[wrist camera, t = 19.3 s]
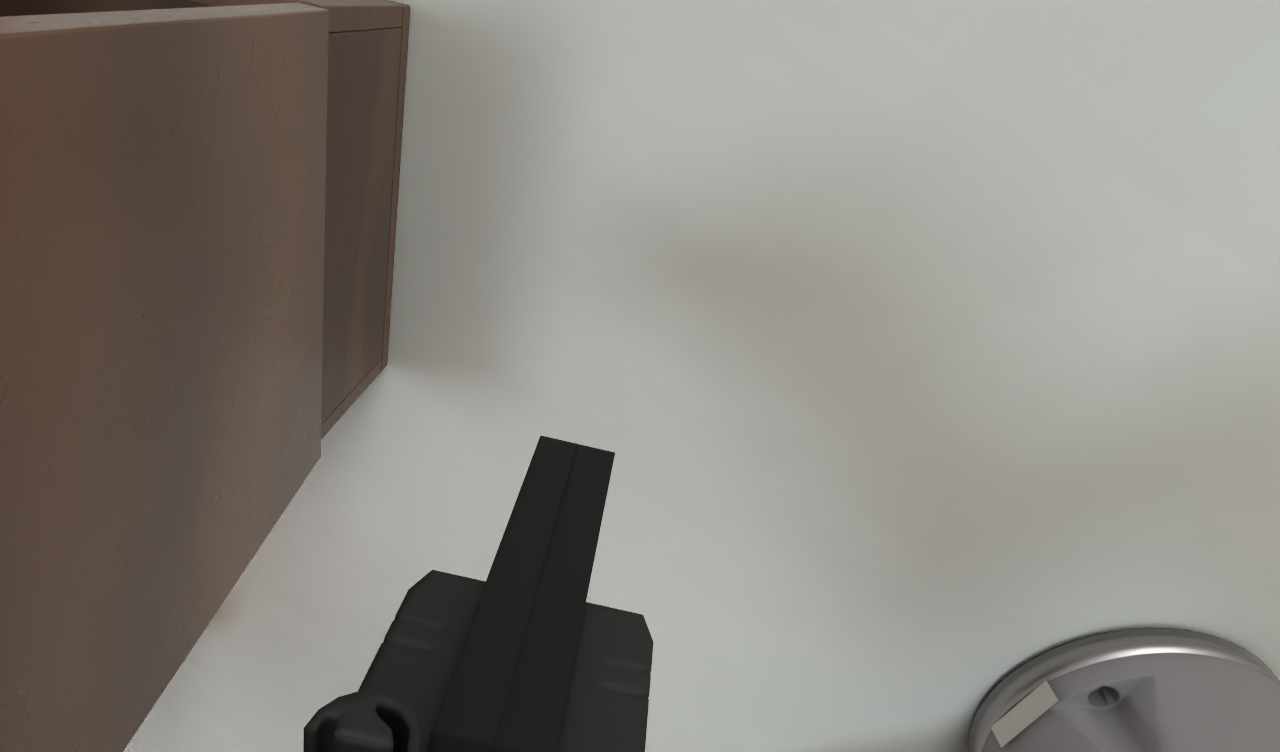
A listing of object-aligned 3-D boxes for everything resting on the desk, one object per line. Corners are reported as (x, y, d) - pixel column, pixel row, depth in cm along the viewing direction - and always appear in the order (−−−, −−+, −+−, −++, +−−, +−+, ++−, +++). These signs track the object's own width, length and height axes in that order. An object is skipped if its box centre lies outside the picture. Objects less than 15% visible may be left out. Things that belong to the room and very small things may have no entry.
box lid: (-199, 1133, 10) (-133, 1137, 11) (-1031, 63, 4) (-844, 98, 4) (296, 452, 26) (321, 456, 26) (296, 2, 19) (329, 9, 19)
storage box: (13, 279, 32) (-147, 342, 26) (-61, -110, 25) (-298, -146, 19) (387, 365, 32) (315, 447, 26) (410, 5, 26) (321, 5, 20)
